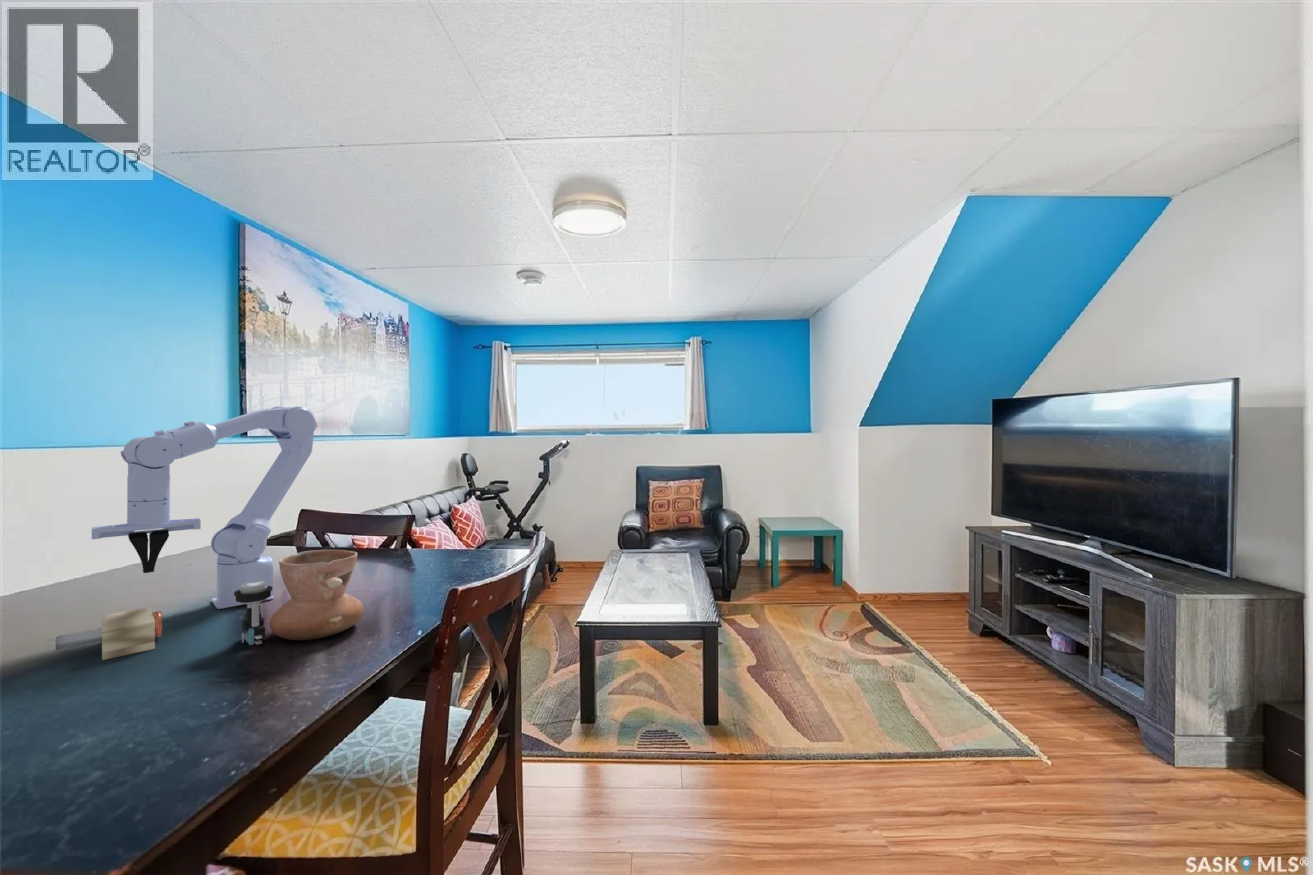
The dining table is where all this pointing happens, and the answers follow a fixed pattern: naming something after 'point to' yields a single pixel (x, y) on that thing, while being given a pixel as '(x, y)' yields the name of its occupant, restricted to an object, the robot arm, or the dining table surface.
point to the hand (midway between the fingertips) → (148, 571)
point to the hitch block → (127, 633)
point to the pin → (96, 635)
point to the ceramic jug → (316, 595)
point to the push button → (253, 610)
